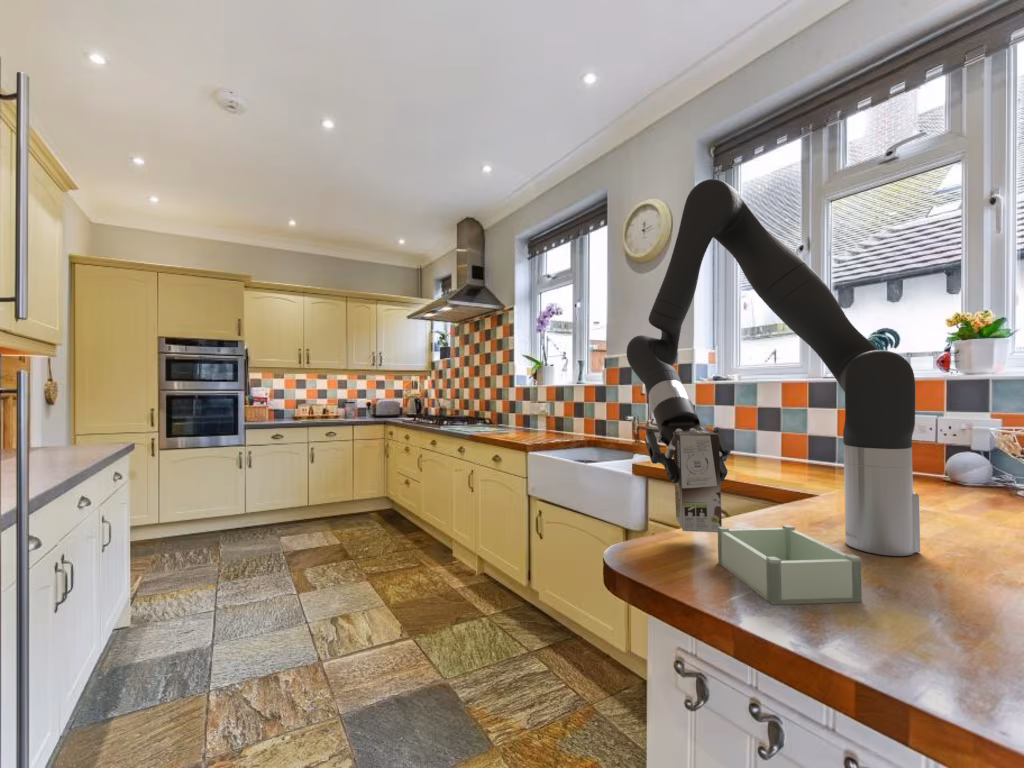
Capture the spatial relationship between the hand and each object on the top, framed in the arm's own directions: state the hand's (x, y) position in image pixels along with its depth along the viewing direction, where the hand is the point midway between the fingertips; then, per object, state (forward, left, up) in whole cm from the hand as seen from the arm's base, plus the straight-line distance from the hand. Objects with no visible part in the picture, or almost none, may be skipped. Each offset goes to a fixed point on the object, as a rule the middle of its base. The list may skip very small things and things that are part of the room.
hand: (699, 479), depth 81 cm
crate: (-6, +14, -12) cm, 19 cm away
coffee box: (0, -1, -8) cm, 8 cm away
